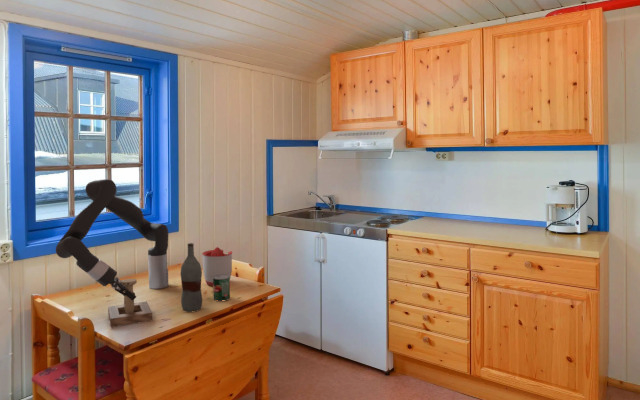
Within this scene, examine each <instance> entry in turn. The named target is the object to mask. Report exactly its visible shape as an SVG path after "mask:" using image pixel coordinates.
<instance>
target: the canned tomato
mask: <svg viewBox="0 0 640 400" xmlns="http://www.w3.org/2000/svg"><path fill="white" fill-rule="evenodd" d="M230 282H231V277H230V276H229V275H223V274H222V275H215V276H213V286H212V288H213V289H212V291H213V299H212V300H213V301H215V300H218V301H217V302H223V301H222V300H227V299H229V298H230V299H231V291H230V289H231V288H230V285H231V284H230ZM230 299H229V300H230ZM227 301H228V300H227Z"/></svg>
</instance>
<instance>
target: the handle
mask: <svg viewBox="0 0 640 400" xmlns="http://www.w3.org/2000/svg"><path fill="white" fill-rule="evenodd" d="M120 280H121V283H122V284H124V285H125V286H126V288H127V289H128V290H130V292H132V293H133V292H134V286H135V285H136V284H137V281H138V280H137V279H136V278H126V279H120ZM124 292H125V290H124ZM134 303H135V299H134V300H131V299H130V298H129V297H127V296H124V297H123V305H124V309H125V314H127V313H133V310H134Z"/></svg>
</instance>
